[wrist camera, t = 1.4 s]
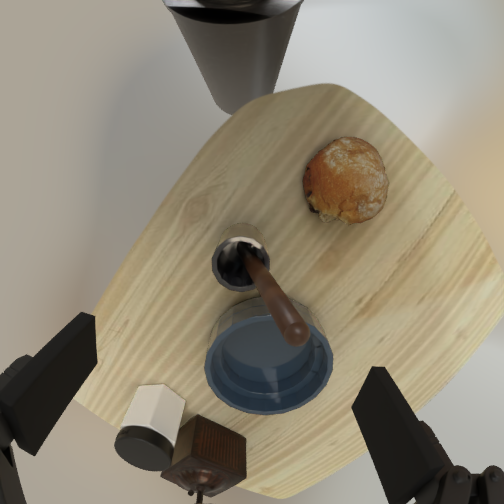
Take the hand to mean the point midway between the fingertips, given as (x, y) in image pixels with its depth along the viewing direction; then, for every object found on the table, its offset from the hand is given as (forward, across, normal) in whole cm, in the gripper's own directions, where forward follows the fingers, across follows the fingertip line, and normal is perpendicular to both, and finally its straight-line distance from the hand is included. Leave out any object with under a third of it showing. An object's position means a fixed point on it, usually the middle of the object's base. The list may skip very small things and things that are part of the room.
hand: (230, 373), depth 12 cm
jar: (+24, -8, -28) cm, 38 cm away
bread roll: (+24, +10, +10) cm, 28 cm away
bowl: (+24, +6, -13) cm, 28 cm away
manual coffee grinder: (+24, +3, -37) cm, 44 cm away
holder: (+24, 0, 0) cm, 24 cm away
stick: (+23, 0, 0) cm, 23 cm away
